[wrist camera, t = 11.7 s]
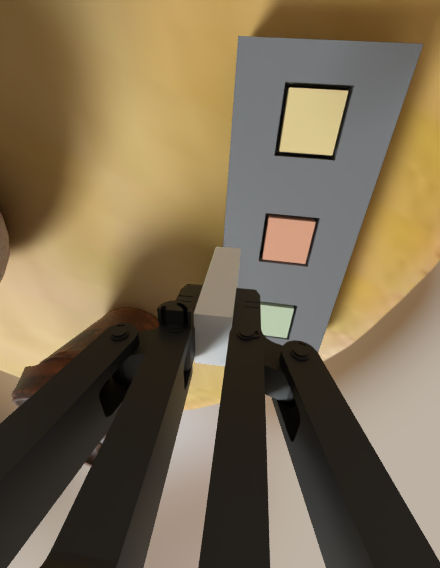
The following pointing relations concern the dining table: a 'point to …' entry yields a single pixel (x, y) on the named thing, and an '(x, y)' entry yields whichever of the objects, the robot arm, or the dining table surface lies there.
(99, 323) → the brown tapered container
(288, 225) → the terracotta button
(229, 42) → the dining table surface
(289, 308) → the sage button
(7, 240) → the plant pot
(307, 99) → the ochre button
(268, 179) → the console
